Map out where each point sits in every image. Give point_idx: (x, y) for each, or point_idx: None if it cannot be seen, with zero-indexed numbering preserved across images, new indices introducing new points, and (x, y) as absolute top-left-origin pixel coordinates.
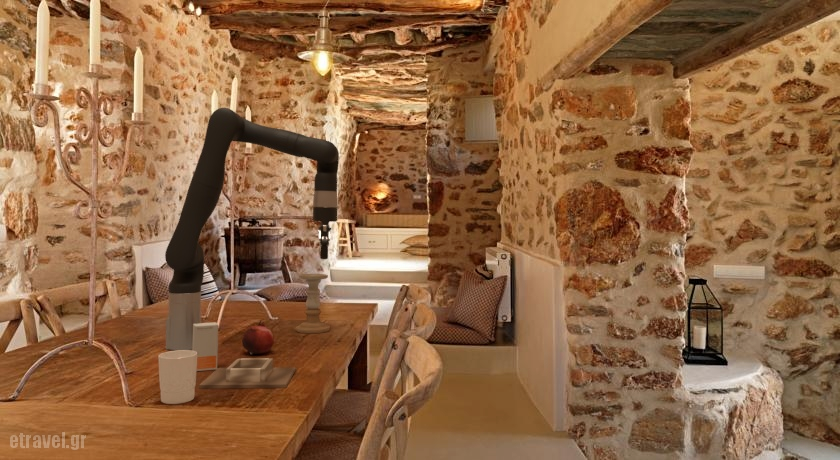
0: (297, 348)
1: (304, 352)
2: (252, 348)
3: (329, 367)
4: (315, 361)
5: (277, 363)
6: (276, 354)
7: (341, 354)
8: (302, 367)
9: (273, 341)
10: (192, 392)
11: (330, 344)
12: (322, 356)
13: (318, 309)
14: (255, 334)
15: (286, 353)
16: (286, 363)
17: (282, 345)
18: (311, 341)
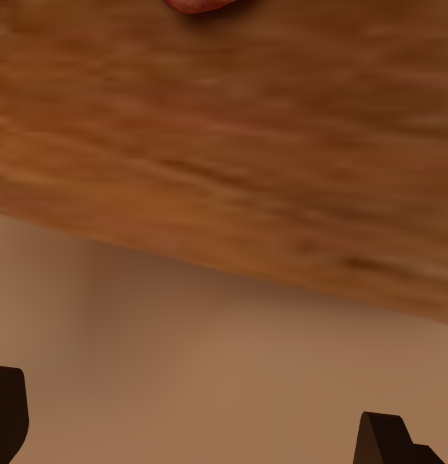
0: (262, 112)
1: (196, 136)
2: None
3: (7, 201)
4: (74, 166)
5: (56, 48)
6: (179, 37)
7: (153, 248)
8: (9, 126)
9: (181, 12)
10: None
11: (305, 229)
12: (134, 190)
13: None
14: None
15: (189, 73)
16: (55, 77)
17: (326, 52)
18: (375, 166)
